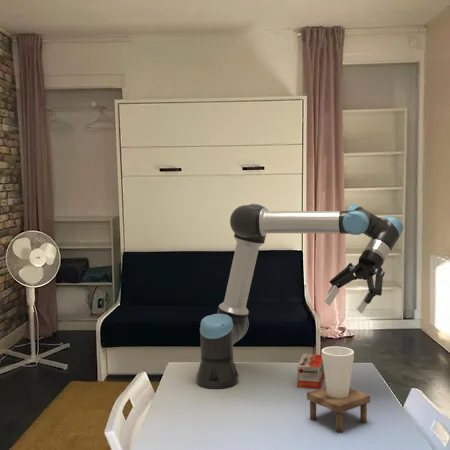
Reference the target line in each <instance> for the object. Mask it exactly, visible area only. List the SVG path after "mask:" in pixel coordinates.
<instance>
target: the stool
mask: <svg viewBox="0 0 450 450" xmlns="http://www.w3.org/2000/svg"><path fill="white" fill-rule="evenodd" d="M306 400H308V401H309V416H310V417H309V419H310V420H311V421H316V420H317V405H319V406H322V407H324V408H326V409H329V410H331V411H333V412H335V432H336V433H343V413H344V412H347V411H349V410H352V409H355V408H358V407H359V409H360V412H359V413H360V415H359V416H360V417H359V419H360V423H362V424H366V423H367V422H368V421H367V420H368V419H367V411H368V408H367V404H369V403H370V402H371V395H370V394H366V393H364V392H362V391H359V390H356V389H354V388H349V394H348V396H347V397H344V398H334V397H331V396H329V395H328V394H327V390H326V386H324V387H321V388H320V389H314V390H311V391H308V392H306Z"/></svg>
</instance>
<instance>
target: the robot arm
mask: <svg viewBox="0 0 450 450" xmlns="http://www.w3.org/2000/svg"><path fill="white" fill-rule="evenodd" d="M229 224H230V229H231V230H232V232H233V233H234V235H233V238H234V239H235V241H236V244H235V248H234V254H233V259H232V263H231V266H230V272H229V277H228V282H227V286H226V291H225V296H224V300H223V302H222V303H219V305H218V309H217V313H214V314H213V313H212V314H211V315H206V316H205V317H203V318H202V319H201V321H200V327H199V333H200V334H199V335H200V337H199V339H200V363H199V367H198V371H197V373H196V384H197V385H198V386H200V387H202V388H205V389H206V388H207V389H214V390H215V389H216V390H217V389H218V390H219V389H225V388H226V389H227V388H231V387H234V386H236V385H237V384H238V383H239V373H238V370H237V368H236V364H235V361H234V345H235V344H236V343H237V342H238V341H240V340H241V339H243V338H244V337H245V335H246V334H247V332H248V329H249V325H250V324H249V312H250V311H249V310H248V308H247V303H248V299H249V294H250V290H251V289H250V288H251V285H252V281H253V277H254V271H255V267H256V263H257V259H258V254H259V249H260V247H261V246H263V245H265V241H266V237H267V234H322V235H323V234H333V235H334V234H337V235H338V234H341V235H342V234H343V235H352V236H357V235H359V236H360V235H363V234H364V235H365V236H367V237H368V238H371V239H370V241H369V242H368V243H367V245H366V246H365V248H364V250H363V252H362V253H361V255H360V256H359V258H358V263H357V264H355V265H354V264H353V263H352V262H350V263H348V265H347V266H346V267H345V268H343V270H341V271H340V272H338V274H336V275H335V276H334V277H332V278H331V279H330V280H329V283H330V285H331V287H330V289H329V290H328V293H327V295H326V297H325V299H324V302H325V303H326V304H327V306H331V305H332V303H333V302H334V300H335V299H336V297H337V295H338V294H339V292H340V288H342V287H344V286H345V285H347V284H349V283H351V282H352V281H357V280H363V281H366V283H367V288H368V289H367V291H365V292H364V294H363V295H362V297H361V299H360V300H359V302H358V304H357V306H356V307H355V308H356V309H357V311H358V313H360V314H363V313H364V311H365V309H366V308H367V306H368V305H370V303H371V302H372V300H373V299H374V297H376V296H378V297H380V296H382V295H383V293H382V292H383V280H384V276H385V273H386V271H385V270H384V269H383V268H382V266H383V264H384V263H385V261H386V260H387V258H388V256H389V254H390V253H391V252H392V250H393V249H394V247H395V245H396V243H397V242H398V240H399V239H400V237H401V235H402V233H403V231H404V225H403V222H402V221H401V220H400V219H399V218H397V217H395V216H391V215H388V216H385V217H384V218H381V217H378V216H377V215H376V214H374V213H372V212H370V211H368V210H367V209H365V208H363V207H362V206H361V205H358V204H356V203H352V204H351V205H349V206H348V208H347V210H271V211H269V209H268V208H267V207H266V206H264V205H262V204H258V203H257V204H256V203H251V204H245V205H241V206H238V207H236V208H235V209H234V210H233V211H232V212H231V215H230V219H229ZM373 276H375V279H374V278H373ZM374 280H375V281H374Z"/></svg>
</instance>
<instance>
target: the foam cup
mask: <svg viewBox="0 0 450 450" xmlns="http://www.w3.org/2000/svg"><path fill="white" fill-rule="evenodd" d="M354 351H355V350H353V349H351V348H349V347H344V346H336V345H335V346H327V347H326V346H325V347H324V348H322V349H321V355H322V360H323V368H324V381H325V387H326V390H327V394H328V395H329V396H331V397H334V398H344V397H347V396H348V394H349V388H350V386H351V380H352V370H353V365H354V361H355V360H354V359H355V357H354V356H355V352H354Z"/></svg>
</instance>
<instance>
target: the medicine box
mask: <svg viewBox="0 0 450 450" xmlns="http://www.w3.org/2000/svg"><path fill="white" fill-rule="evenodd" d="M324 379H325V375H324V368H323V360H322V354H317V353H315V354H313V353H312V354H311V353H303V354H302V355H301V357H300V360H299V361H298V364H297V388H303V389H314V390H317V389H320V388H322V384H323V381H324Z"/></svg>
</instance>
